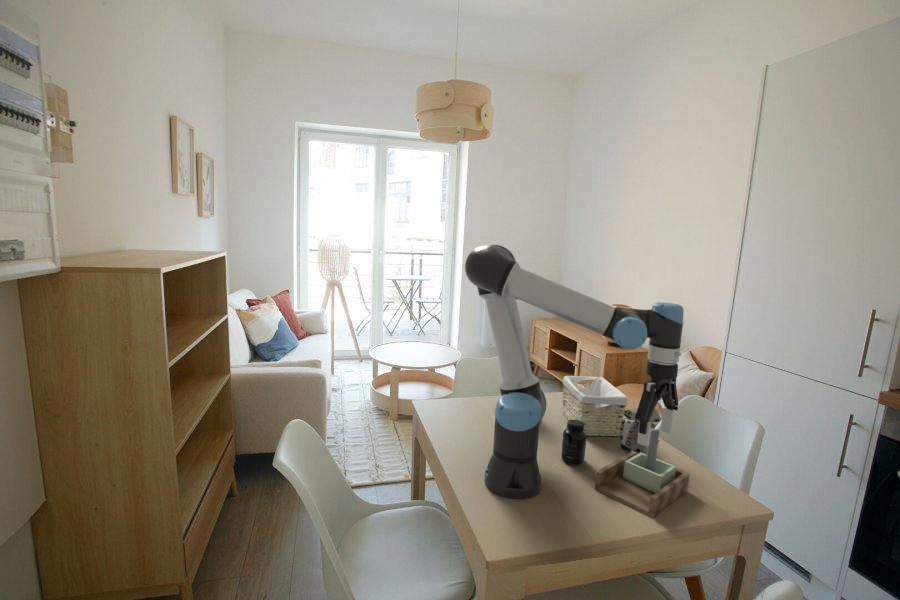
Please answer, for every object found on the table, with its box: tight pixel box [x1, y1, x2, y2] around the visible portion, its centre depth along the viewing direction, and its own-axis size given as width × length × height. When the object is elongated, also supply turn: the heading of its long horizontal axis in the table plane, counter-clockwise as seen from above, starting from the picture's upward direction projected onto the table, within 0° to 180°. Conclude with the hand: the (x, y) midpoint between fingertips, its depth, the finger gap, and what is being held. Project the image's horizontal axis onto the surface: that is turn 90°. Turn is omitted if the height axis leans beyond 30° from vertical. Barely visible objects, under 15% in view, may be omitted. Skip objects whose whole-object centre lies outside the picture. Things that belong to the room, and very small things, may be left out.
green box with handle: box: [623, 427, 677, 493], centre depth 125 cm, size 9×10×15 cm
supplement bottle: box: [561, 419, 587, 466], centre depth 138 cm, size 7×7×12 cm
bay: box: [594, 451, 691, 519], centre depth 123 cm, size 20×16×5 cm
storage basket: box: [562, 375, 628, 437], centre depth 166 cm, size 24×16×15 cm
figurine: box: [619, 408, 662, 454], centre depth 144 cm, size 9×12×15 cm
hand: (654, 438), depth 124 cm, fingers open, 13 cm apart
